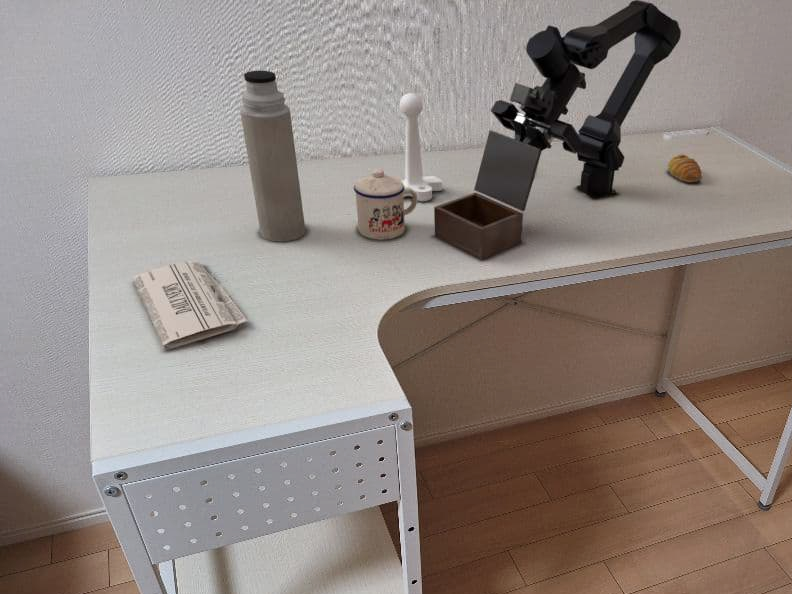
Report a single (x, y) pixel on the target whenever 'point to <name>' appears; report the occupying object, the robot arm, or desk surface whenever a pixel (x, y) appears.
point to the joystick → (415, 152)
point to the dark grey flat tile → (507, 170)
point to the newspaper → (186, 303)
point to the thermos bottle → (272, 158)
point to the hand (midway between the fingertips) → (512, 165)
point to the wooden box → (478, 225)
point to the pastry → (684, 168)
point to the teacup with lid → (381, 205)
